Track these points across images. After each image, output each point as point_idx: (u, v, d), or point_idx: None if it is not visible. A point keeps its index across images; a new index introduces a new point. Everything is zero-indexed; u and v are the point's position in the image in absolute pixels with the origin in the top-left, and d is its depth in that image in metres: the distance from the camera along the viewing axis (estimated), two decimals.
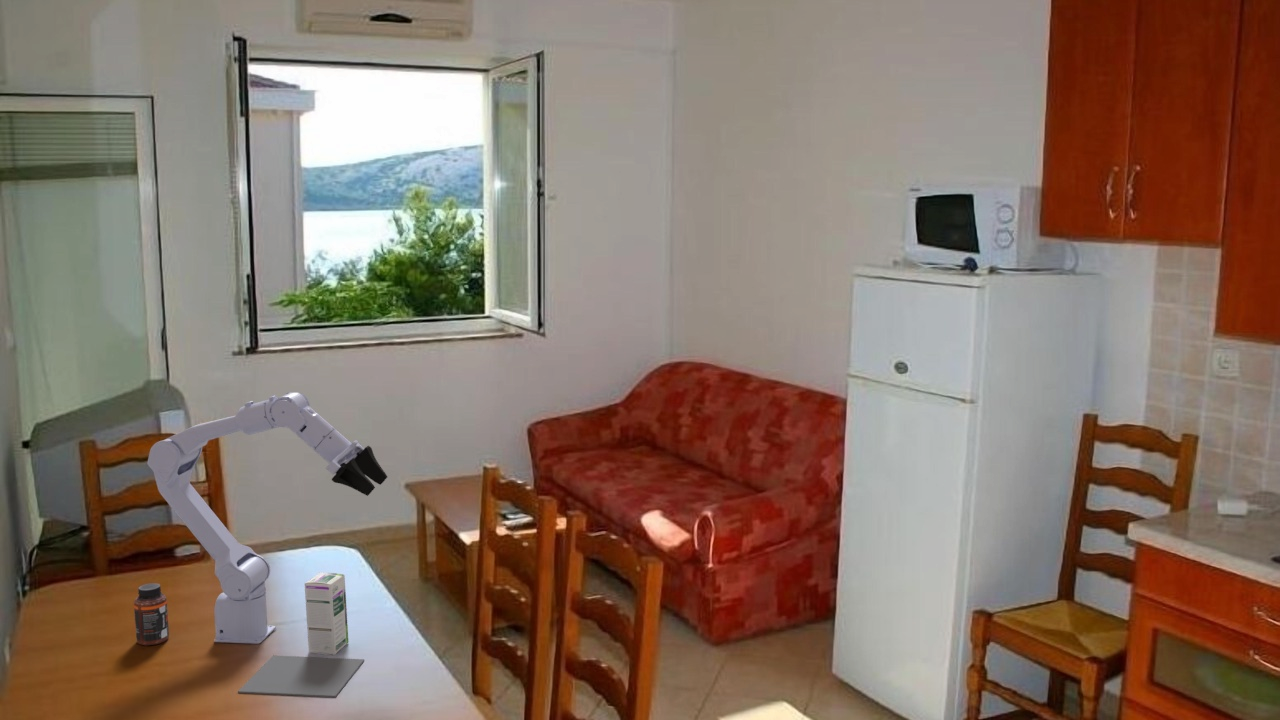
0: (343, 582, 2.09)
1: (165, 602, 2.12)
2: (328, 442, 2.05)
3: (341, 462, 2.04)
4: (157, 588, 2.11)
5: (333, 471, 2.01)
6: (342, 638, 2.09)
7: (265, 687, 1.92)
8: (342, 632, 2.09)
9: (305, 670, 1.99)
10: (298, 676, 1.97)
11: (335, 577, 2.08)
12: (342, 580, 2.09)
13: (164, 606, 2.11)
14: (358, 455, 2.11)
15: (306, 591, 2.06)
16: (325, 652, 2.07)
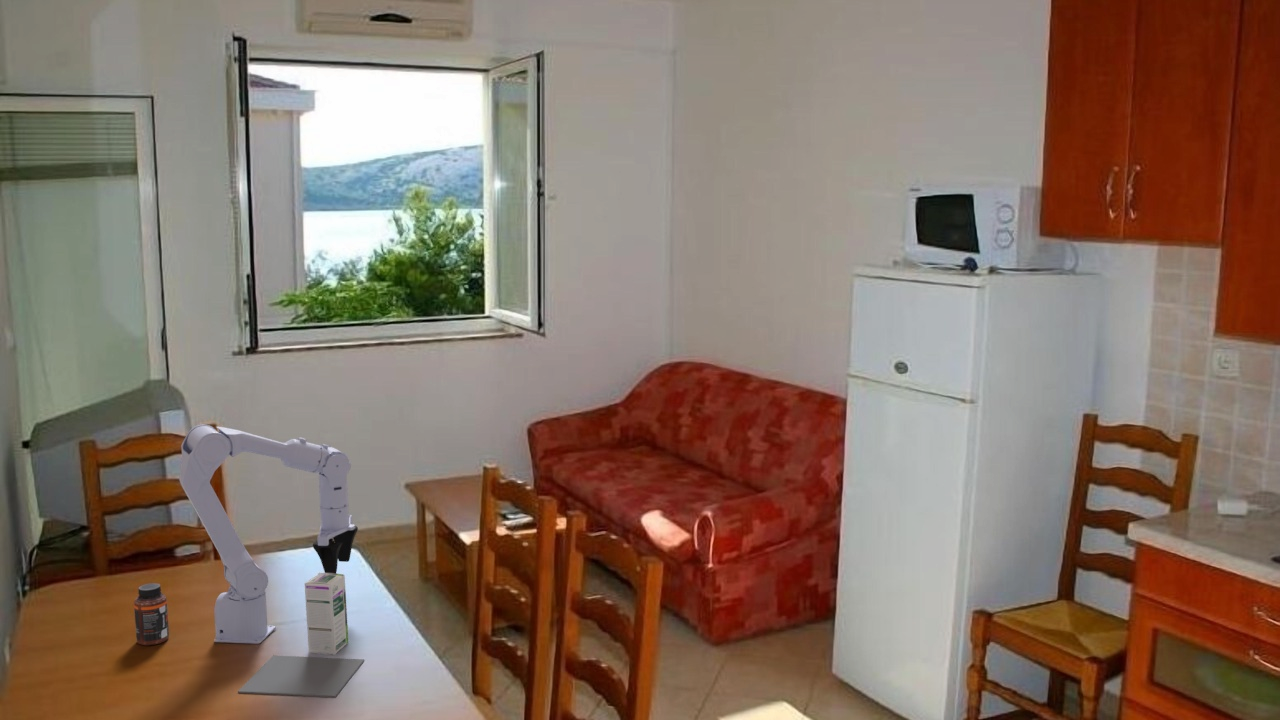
0: (343, 582, 2.09)
1: (165, 602, 2.12)
2: (335, 514, 2.19)
3: None
4: (157, 588, 2.11)
5: (320, 543, 2.16)
6: (342, 638, 2.09)
7: (265, 687, 1.92)
8: (342, 632, 2.09)
9: (305, 670, 1.99)
10: (298, 676, 1.97)
11: (335, 577, 2.08)
12: (342, 580, 2.09)
13: (164, 606, 2.11)
14: None
15: (306, 591, 2.06)
16: (325, 652, 2.07)
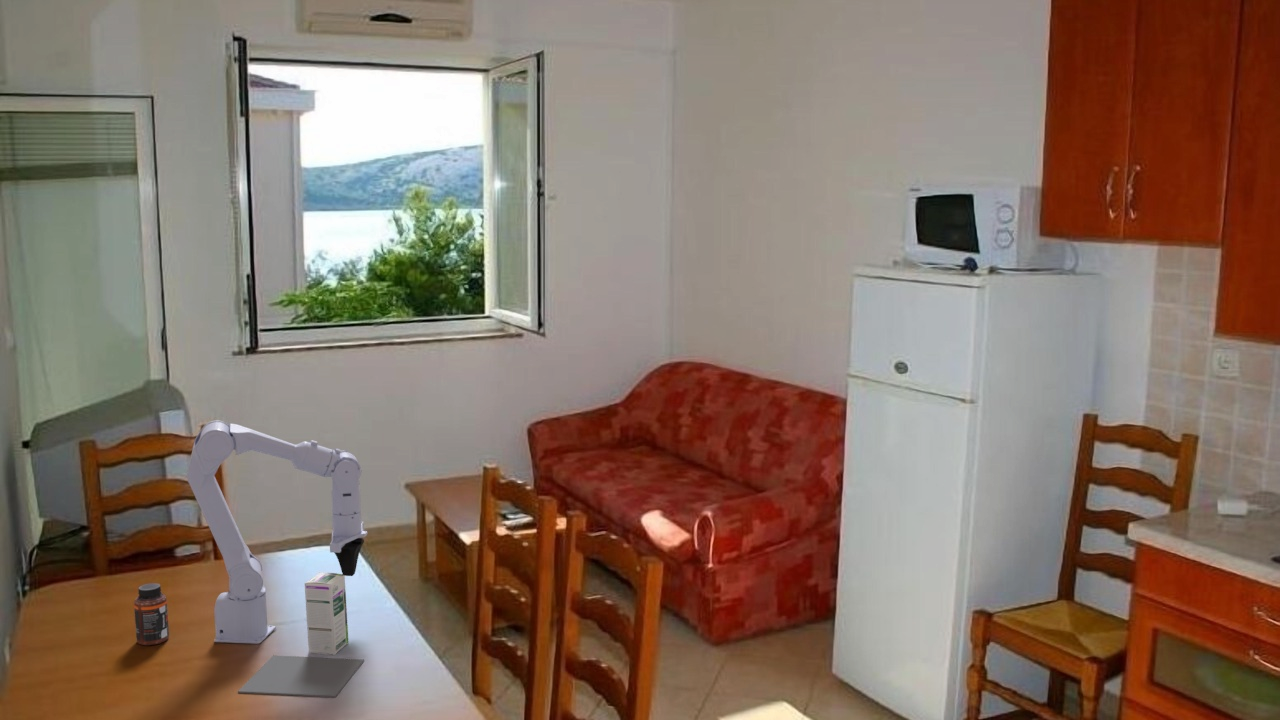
0: (343, 582, 2.09)
1: (165, 602, 2.12)
2: (348, 520, 2.16)
3: None
4: (157, 588, 2.11)
5: (332, 550, 2.12)
6: (342, 638, 2.09)
7: (265, 687, 1.92)
8: (342, 632, 2.09)
9: (305, 670, 1.99)
10: (298, 676, 1.97)
11: (335, 577, 2.08)
12: (342, 580, 2.09)
13: (164, 606, 2.11)
14: None
15: (306, 591, 2.06)
16: (325, 652, 2.07)
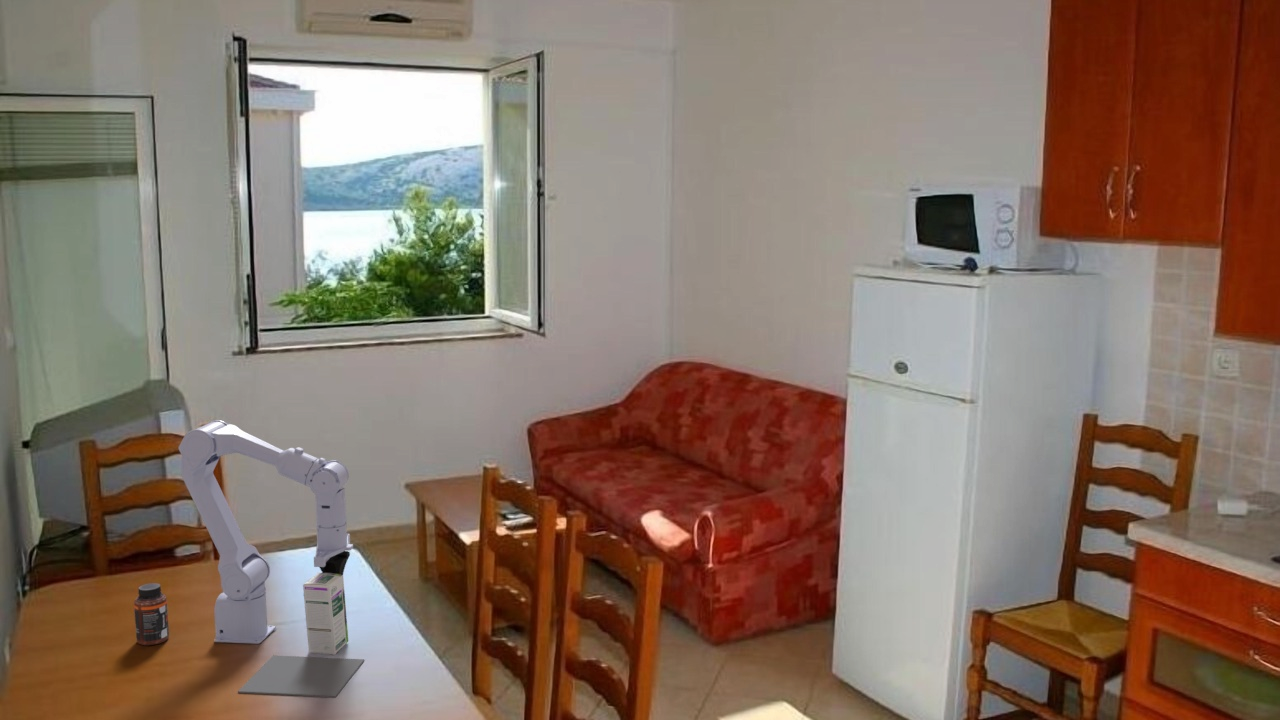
0: (342, 582, 2.09)
1: (165, 602, 2.12)
2: (333, 533, 2.08)
3: None
4: (157, 588, 2.11)
5: (317, 564, 2.04)
6: (342, 638, 2.09)
7: (265, 687, 1.92)
8: (341, 632, 2.09)
9: (305, 670, 1.99)
10: (298, 676, 1.97)
11: (333, 578, 2.07)
12: (341, 580, 2.08)
13: (164, 606, 2.11)
14: None
15: (305, 592, 2.05)
16: (325, 652, 2.07)
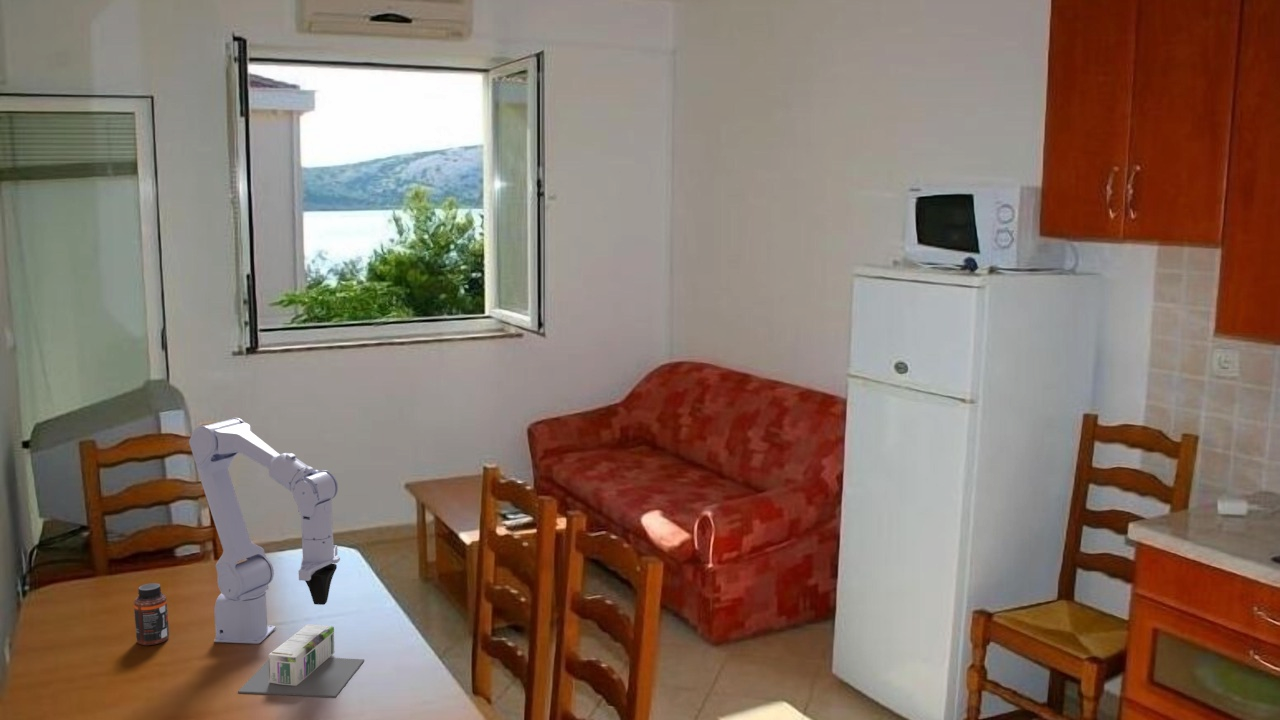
0: (300, 658, 1.93)
1: (165, 602, 2.12)
2: (318, 545, 2.01)
3: None
4: (157, 588, 2.11)
5: (301, 578, 1.97)
6: (330, 641, 2.04)
7: (265, 687, 1.92)
8: (326, 645, 2.03)
9: None
10: None
11: (291, 668, 1.92)
12: (298, 659, 1.93)
13: (164, 606, 2.11)
14: None
15: None
16: None
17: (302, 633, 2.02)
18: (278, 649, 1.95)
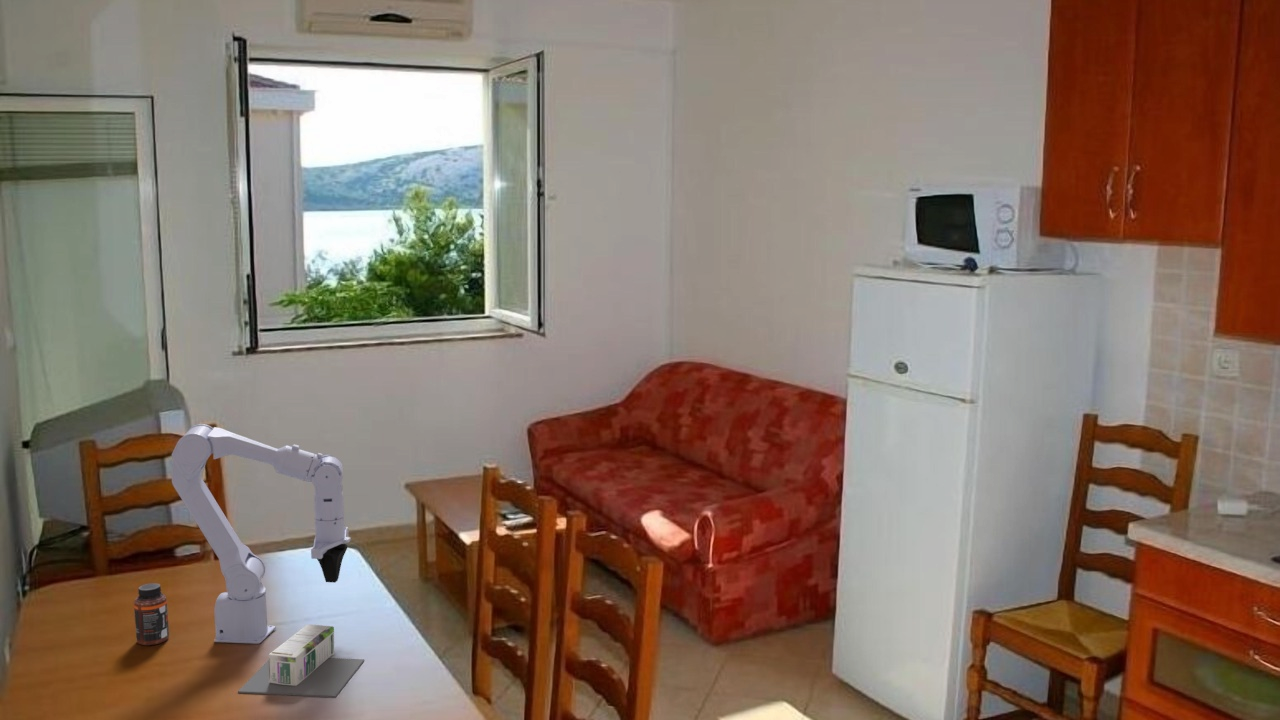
0: (300, 658, 1.93)
1: (165, 602, 2.12)
2: (330, 526, 2.12)
3: None
4: (157, 588, 2.11)
5: (314, 556, 2.09)
6: (330, 641, 2.04)
7: (265, 687, 1.92)
8: (326, 645, 2.03)
9: None
10: None
11: (291, 668, 1.92)
12: (298, 659, 1.93)
13: (164, 606, 2.11)
14: None
15: None
16: None
17: (302, 633, 2.02)
18: (278, 649, 1.95)
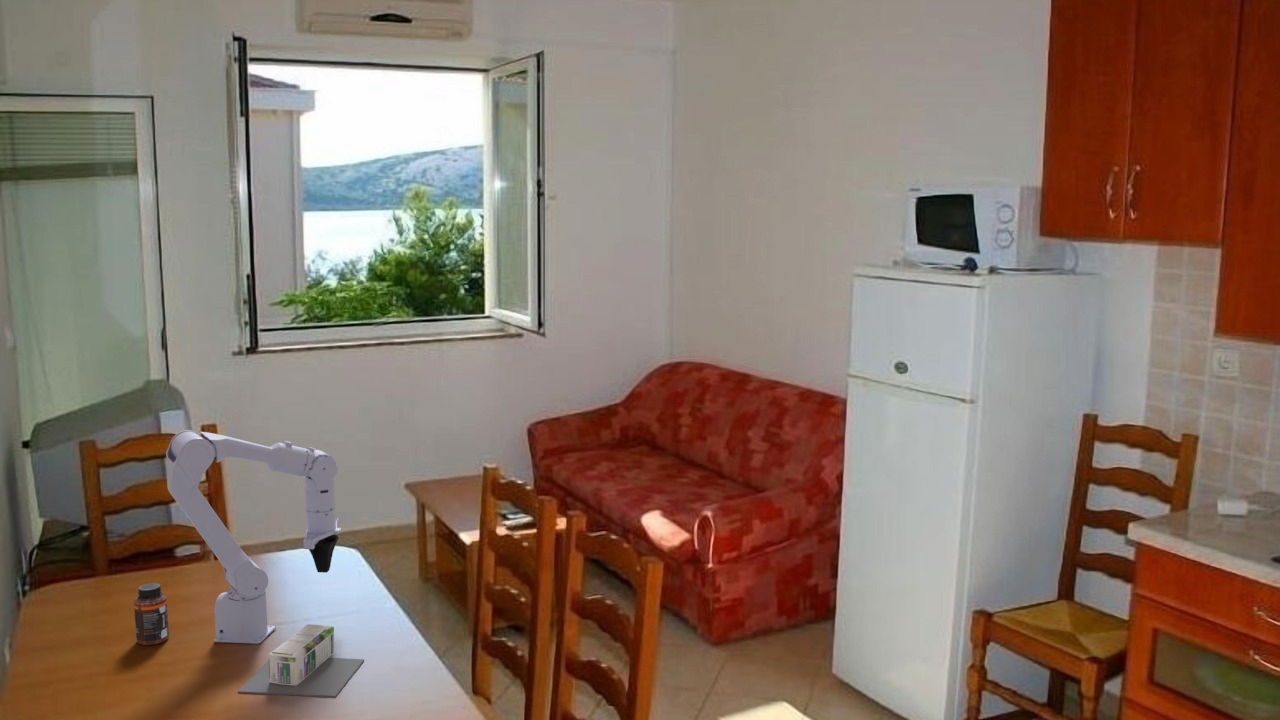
0: (300, 658, 1.93)
1: (165, 602, 2.12)
2: (322, 517, 2.18)
3: None
4: (157, 588, 2.11)
5: (306, 547, 2.14)
6: (330, 641, 2.04)
7: (265, 687, 1.92)
8: (326, 645, 2.03)
9: None
10: None
11: (291, 668, 1.92)
12: (298, 659, 1.93)
13: (164, 606, 2.11)
14: None
15: None
16: None
17: (302, 633, 2.02)
18: (278, 649, 1.95)
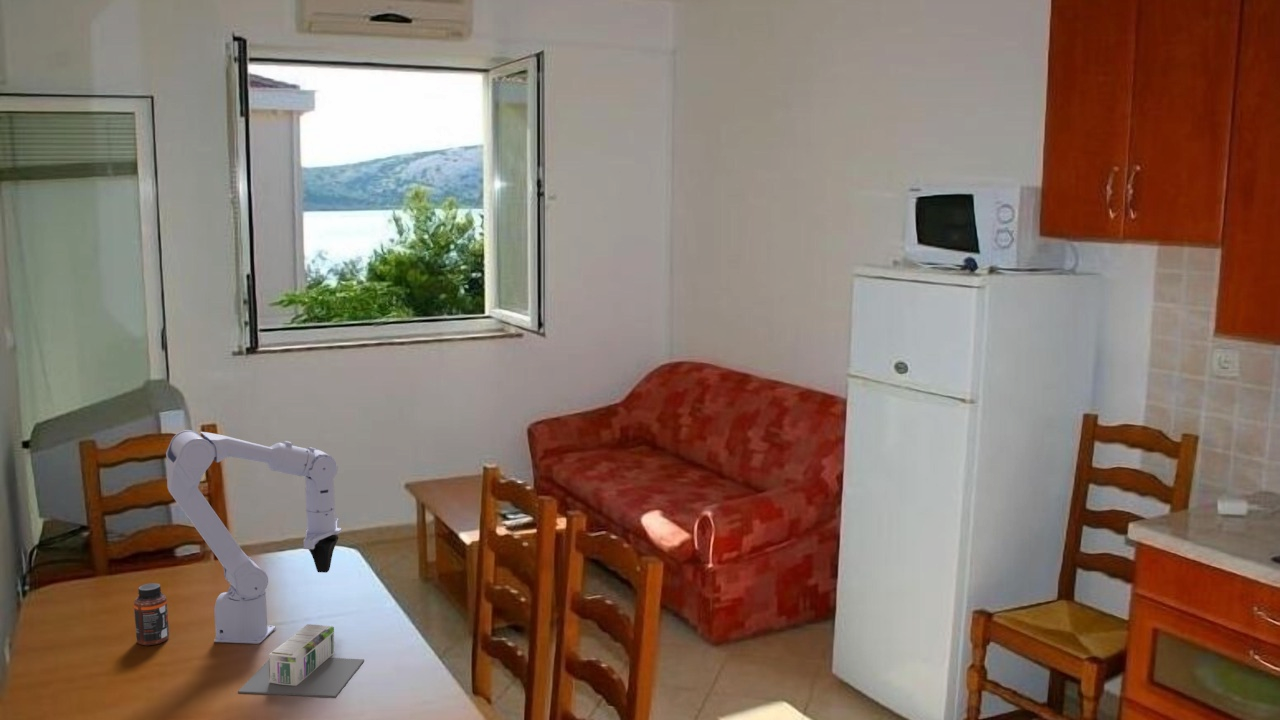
0: (300, 658, 1.93)
1: (165, 602, 2.12)
2: (322, 517, 2.18)
3: None
4: (157, 588, 2.11)
5: (306, 547, 2.14)
6: (330, 641, 2.04)
7: (265, 687, 1.92)
8: (326, 645, 2.03)
9: None
10: None
11: (291, 668, 1.92)
12: (298, 659, 1.93)
13: (164, 606, 2.11)
14: None
15: None
16: None
17: (302, 633, 2.02)
18: (278, 649, 1.95)
